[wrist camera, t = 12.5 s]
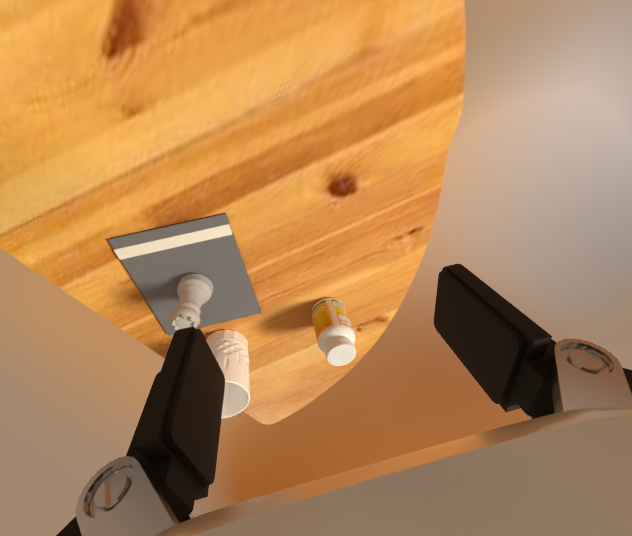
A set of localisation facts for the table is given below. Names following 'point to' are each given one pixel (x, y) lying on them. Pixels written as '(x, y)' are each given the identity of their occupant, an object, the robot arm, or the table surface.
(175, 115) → the table surface
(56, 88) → the table surface
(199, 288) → the rook chess piece
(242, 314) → the mat
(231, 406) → the white cup
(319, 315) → the supplement bottle
